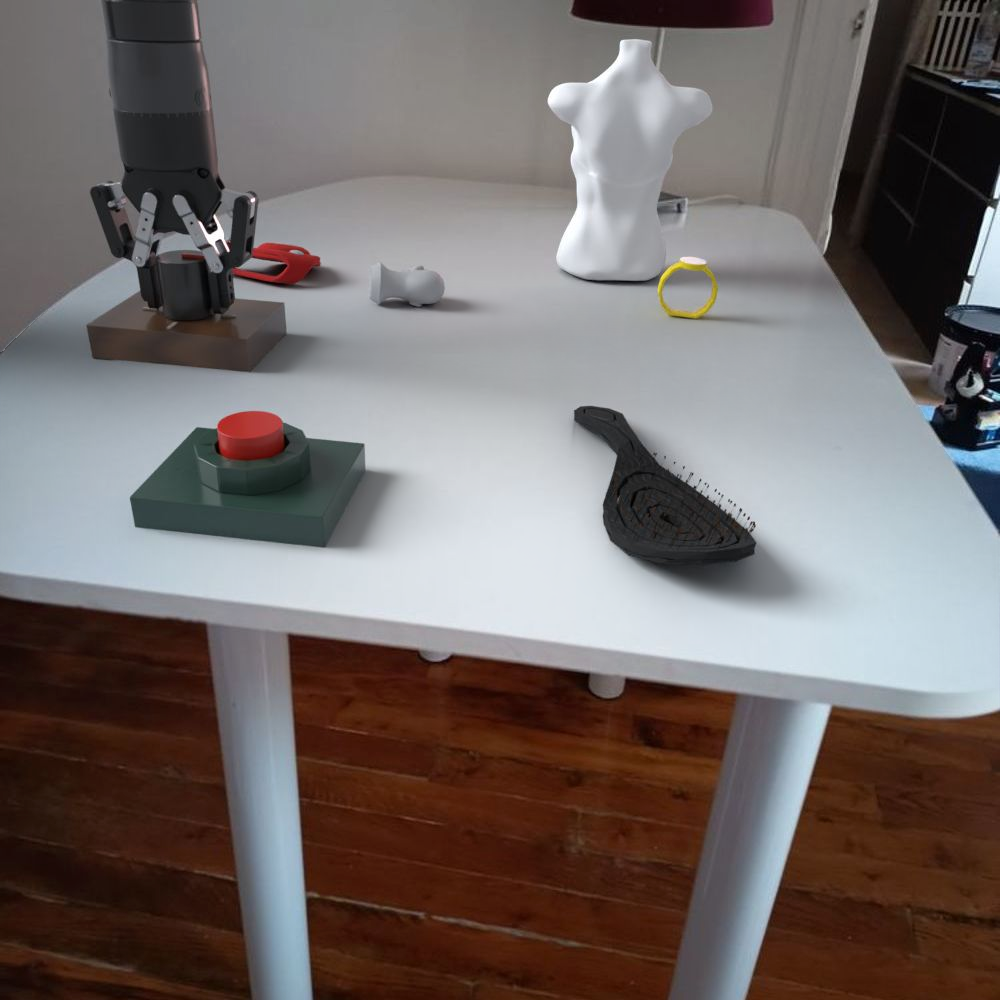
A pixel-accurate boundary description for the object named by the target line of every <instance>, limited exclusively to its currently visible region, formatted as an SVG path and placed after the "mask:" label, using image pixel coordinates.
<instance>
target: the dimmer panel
mask: <svg viewBox="0 0 1000 1000" xmlns="http://www.w3.org/2000/svg"><path fill="white" fill-rule="evenodd" d="M86 332H87V337H88V342H89V347H90V353H91V358H92V359H99V360H100V359H101V360H108V361H109V360H110V361H123V362H124V361H126V362H136V363H144V364H145V363H146V364H156V365H157V364H158V365H166V366H176V367H178V366H179V367H188V368H189V367H190V368H201V369H210V370H219V371H220V370H221V371H234V372H244V373H250V372H251V371H252V370H253V369H254V368H255V367H256V366H257V365H258V364H259V363H260V361H261V360H263V358H265V356H266V355H267V354H268V353H269V352H271V350H272V349H273V348H274V347H275V346H276V345H277V344H278V343H279V342H280V341H281V340H282V339H283V337H284V336H285V335H287V321H286V306H285V302H282V301H270V300H259V299H246V298H236V297H235V300H234V303H233V304H232V305H231V306H230V307H229V309H228V310H227V311H226V312H225V313H224V314H213V315H212V316H210V317H207V318H204V319H199V320H191V321H181V320H173V319H170V318H167V317H166V316H165V315H164V313H163V306H161V307H160V308H159V309H153V308H149V307H148V303H147V302H146V301H144V300H143V298H142V296H141V292H140V290H138V291H137V292H135V293H134V294H132V295H131V296H129V297H128V298H125V300H123V301H121V302H119V303H118V304H117V305H115V306H114V307H112V308H110V309H108V310H107V311H105V313H103V314H101V315H99V316H98V317H97V318H95V319H94V320H92V321H90V322H89V323H87V324H86Z"/></svg>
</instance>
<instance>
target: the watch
mask: <svg viewBox="0 0 1000 1000" xmlns="http://www.w3.org/2000/svg"><path fill="white" fill-rule="evenodd" d="M707 265H708V261H707V260H705V259H703V258H700V257H695V256H681V257H680V258H679V261H678V262H676V263H673V264H671V265H670V266H669V267H668V268H667V269H666V270H665V271H664V272H663V273H662V275H661V277H660V278H659V282H658V285H657V296H658V301H659V305H660V307H661V308H662V309H663V310H664V313H666V314H667V315H668V316H671V317H672V316H673V317H682V318H688V319H695V320H697V319H699V318H700V317H703V316H705V315H706V314H708V312H709V311H710V310H711V309H712V307H713V306H714V305H715V303H716V301H717V296H718V289H719V287H718V283H717V281H716V277H715V275H714V272H713V271H712V269H710V268H709V267H708V266H707ZM682 269H684V270H688V271H694V272H701V271H703V272H704V273H705V274H706V275H707V276H708V277H709V278H710V281H711V283H712V288H711V294H710V297H709V299H708V300H707V301H706V302H705V303H704V306H702V307H700V308H698V309H696V310H695V311H687V310H681V309H674V308H670V307H669V305H668V304H667V303H666V302H665V301H664V297H663V290H664V286H665V283H666V282H667V280H668V279H669V278H670V277H671V276H672V275H673V274H674V272H675V273H676V272H677V271H679V270H682Z"/></svg>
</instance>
